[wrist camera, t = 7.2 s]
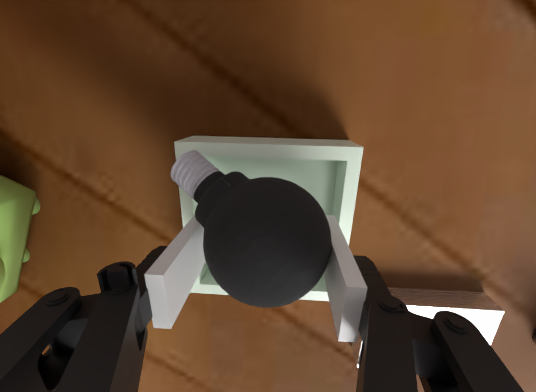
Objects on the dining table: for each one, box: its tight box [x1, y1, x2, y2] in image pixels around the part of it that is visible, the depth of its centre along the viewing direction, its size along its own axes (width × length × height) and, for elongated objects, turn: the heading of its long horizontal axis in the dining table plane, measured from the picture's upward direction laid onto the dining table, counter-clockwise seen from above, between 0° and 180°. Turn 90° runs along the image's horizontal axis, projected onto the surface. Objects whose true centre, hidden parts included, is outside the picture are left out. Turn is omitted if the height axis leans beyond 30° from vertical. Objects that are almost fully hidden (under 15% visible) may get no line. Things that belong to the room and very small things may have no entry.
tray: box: [174, 136, 363, 301], centre depth 18 cm, size 11×11×3 cm
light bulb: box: [171, 150, 331, 308], centre depth 13 cm, size 6×6×10 cm
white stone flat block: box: [351, 287, 505, 368], centre depth 21 cm, size 10×7×2 cm
